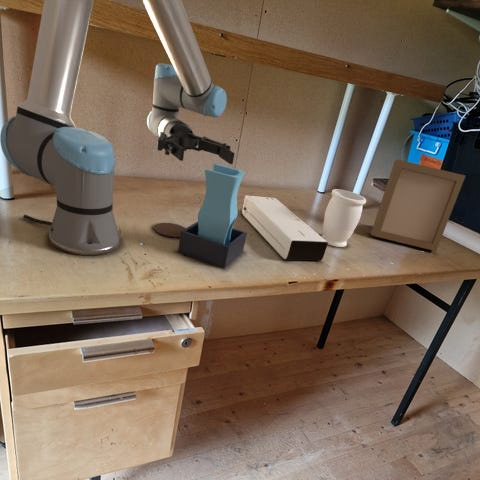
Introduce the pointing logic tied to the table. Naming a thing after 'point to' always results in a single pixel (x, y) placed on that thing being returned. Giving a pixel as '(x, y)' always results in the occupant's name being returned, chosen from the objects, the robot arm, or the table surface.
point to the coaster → (169, 230)
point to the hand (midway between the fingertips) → (208, 156)
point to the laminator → (283, 229)
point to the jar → (342, 216)
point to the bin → (211, 246)
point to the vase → (219, 203)
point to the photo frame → (417, 204)
